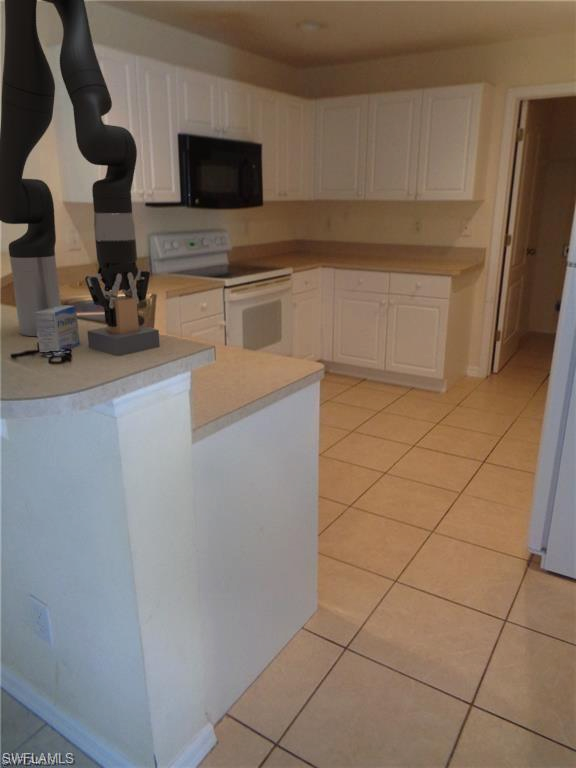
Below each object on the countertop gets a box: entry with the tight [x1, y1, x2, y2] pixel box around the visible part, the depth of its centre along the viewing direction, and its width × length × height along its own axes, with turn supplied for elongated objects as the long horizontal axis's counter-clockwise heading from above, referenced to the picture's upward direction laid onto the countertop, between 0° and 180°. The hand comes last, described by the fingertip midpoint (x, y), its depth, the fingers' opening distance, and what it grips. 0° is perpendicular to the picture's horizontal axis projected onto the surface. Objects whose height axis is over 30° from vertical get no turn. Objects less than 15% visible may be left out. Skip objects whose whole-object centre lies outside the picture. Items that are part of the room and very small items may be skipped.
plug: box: [106, 295, 140, 334], centre depth 114 cm, size 4×4×10 cm
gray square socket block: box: [86, 325, 160, 357], centre depth 115 cm, size 10×10×4 cm
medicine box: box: [34, 304, 81, 353], centre depth 113 cm, size 8×4×9 cm, turn 170°
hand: (122, 323), depth 114 cm, fingers closed on plug, 4 cm apart
